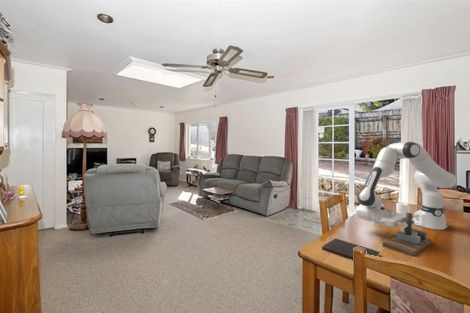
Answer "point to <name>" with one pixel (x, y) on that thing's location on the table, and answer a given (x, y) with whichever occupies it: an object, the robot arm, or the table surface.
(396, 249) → the press board
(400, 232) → the jaw carriage
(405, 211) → the white cup
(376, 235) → the table surface
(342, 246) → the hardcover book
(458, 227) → the table surface
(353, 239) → the table surface
